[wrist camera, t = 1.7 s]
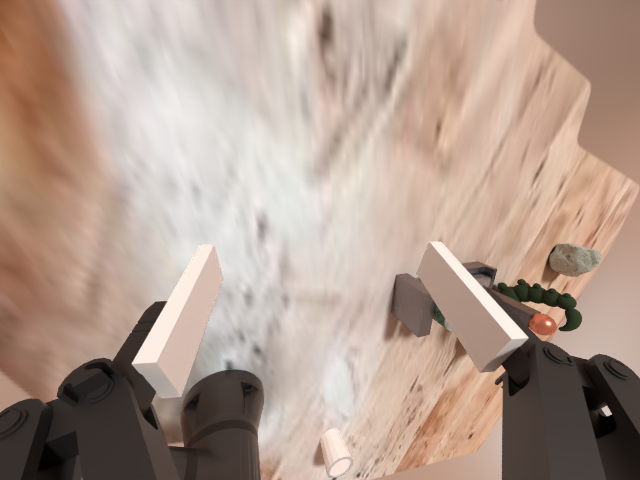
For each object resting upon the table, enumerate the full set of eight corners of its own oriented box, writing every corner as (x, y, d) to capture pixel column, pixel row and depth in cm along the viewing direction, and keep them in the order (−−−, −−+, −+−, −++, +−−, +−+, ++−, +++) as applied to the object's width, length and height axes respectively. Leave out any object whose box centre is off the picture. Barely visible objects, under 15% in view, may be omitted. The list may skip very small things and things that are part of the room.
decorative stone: (541, 253, 68) (573, 281, 63) (580, 231, 64) (618, 259, 59) (532, 259, 78) (559, 283, 74) (566, 240, 75) (597, 264, 70)
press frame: (468, 298, 63) (502, 317, 55) (391, 314, 55) (417, 339, 47) (477, 261, 60) (515, 276, 51) (396, 272, 51) (426, 292, 43)
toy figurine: (491, 266, 65) (449, 342, 65) (586, 295, 48) (528, 397, 48) (506, 279, 69) (466, 350, 69) (598, 309, 52) (545, 403, 52)
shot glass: (334, 422, 59) (345, 452, 53) (345, 433, 62) (357, 463, 56) (313, 439, 59) (322, 472, 52) (325, 450, 62) (335, 482, 55)
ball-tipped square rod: (465, 293, 61) (556, 343, 44) (451, 296, 60) (540, 349, 42) (471, 269, 59) (569, 311, 42) (457, 271, 58) (552, 316, 40)
